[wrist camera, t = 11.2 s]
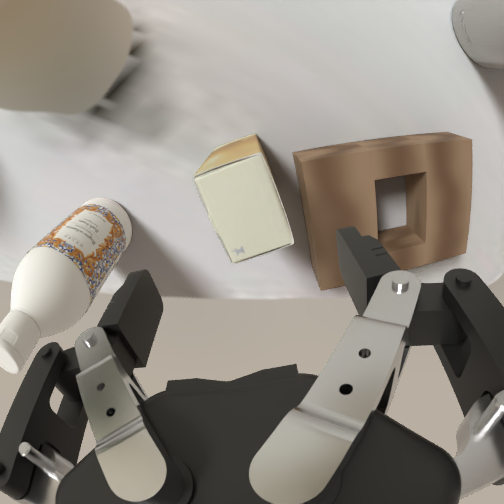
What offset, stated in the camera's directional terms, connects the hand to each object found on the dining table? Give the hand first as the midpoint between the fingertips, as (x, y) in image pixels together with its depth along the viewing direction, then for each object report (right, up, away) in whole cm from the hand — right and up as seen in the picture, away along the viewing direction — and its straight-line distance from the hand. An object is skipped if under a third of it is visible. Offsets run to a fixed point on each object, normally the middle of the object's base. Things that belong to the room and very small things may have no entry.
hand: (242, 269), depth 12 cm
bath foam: (-16, +4, +18) cm, 24 cm away
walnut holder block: (+14, +6, +17) cm, 23 cm away
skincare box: (0, +9, +16) cm, 18 cm away
